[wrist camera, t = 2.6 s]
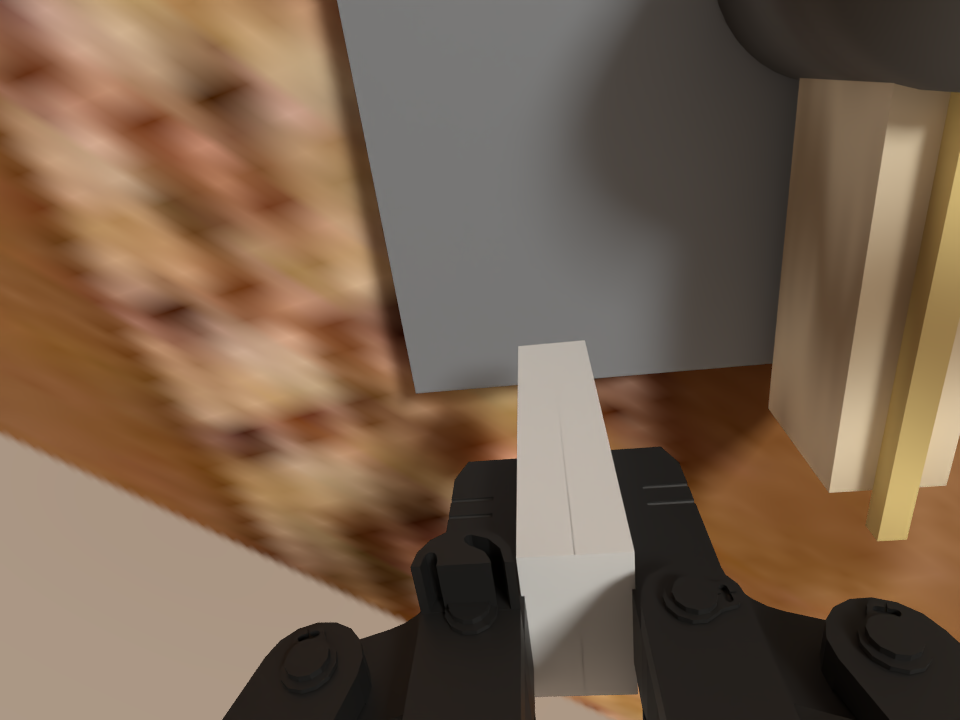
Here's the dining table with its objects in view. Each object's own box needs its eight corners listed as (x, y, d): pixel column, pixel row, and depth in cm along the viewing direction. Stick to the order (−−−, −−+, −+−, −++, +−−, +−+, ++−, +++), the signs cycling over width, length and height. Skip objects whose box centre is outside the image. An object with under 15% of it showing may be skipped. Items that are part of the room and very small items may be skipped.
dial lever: (716, -251, 11) (849, -464, 7) (1074, -321, 10) (1493, -610, 6) (693, 431, 18) (753, 557, 13) (912, 415, 17) (1053, 542, 12)
